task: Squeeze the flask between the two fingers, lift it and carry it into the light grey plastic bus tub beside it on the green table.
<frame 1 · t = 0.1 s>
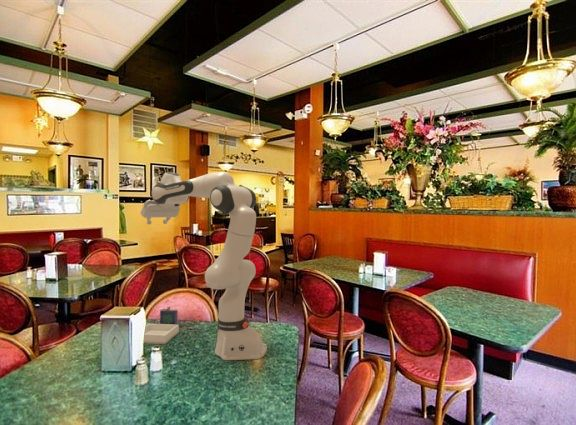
hand: (156, 223, 169), 54 cm above the table, tool tilted 30°, fingers open, 8 cm apart
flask: (168, 327, 166), on the table
tub: (156, 337, 152), on the table
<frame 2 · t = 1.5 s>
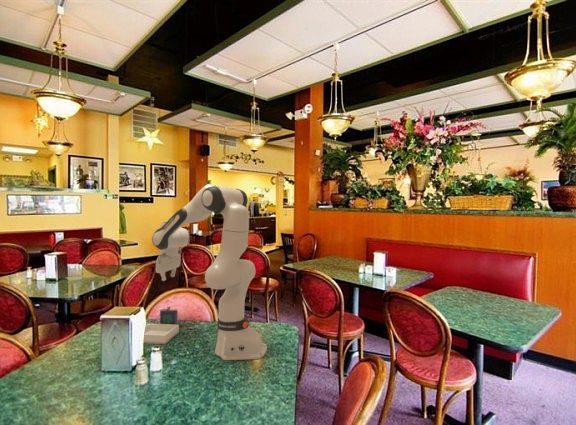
hand: (168, 278, 166), 25 cm above the table, tool pointing down, fingers open, 8 cm apart
nothing on the table moved.
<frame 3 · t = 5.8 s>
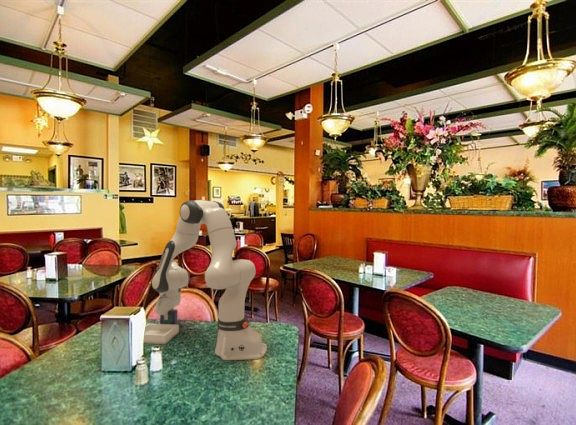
hand: (168, 318, 166), 5 cm above the table, tool pointing down, fingers closed on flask, 3 cm apart
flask: (168, 327, 166), on the table, touching gripper
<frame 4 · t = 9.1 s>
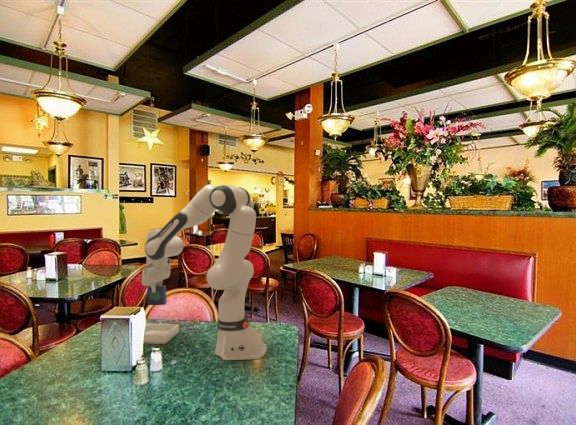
hand: (156, 290, 152), 22 cm above the table, tool pointing down, fingers closed on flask, 3 cm apart
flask: (156, 304, 152), point 16 cm above the table, touching gripper
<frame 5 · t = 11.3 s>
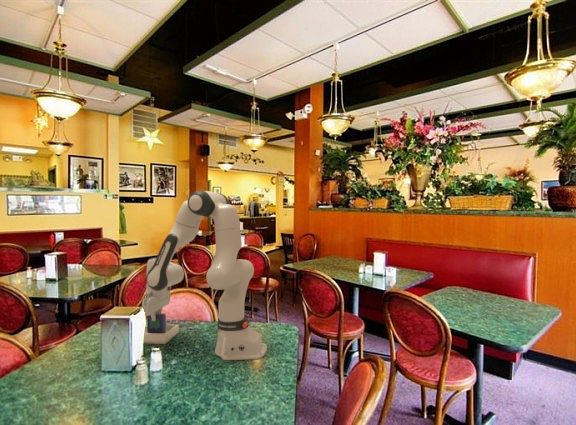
hand: (156, 319, 152), 9 cm above the table, tool pointing down, fingers closed on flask, 3 cm apart
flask: (156, 332, 152), point 2 cm above the table, touching gripper
when the fingers open (7 cm above the table, at t = 12.5 s): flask stays where it is, resting on tub.
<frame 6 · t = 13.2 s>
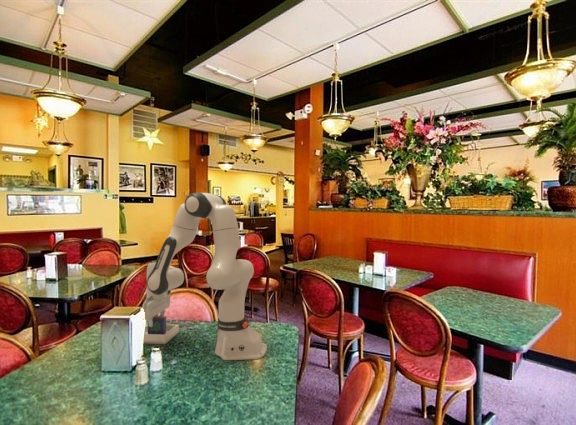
hand: (156, 322, 152), 7 cm above the table, tool pointing down, fingers open, 8 cm apart
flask: (156, 335, 152), point 1 cm above the table, touching tub
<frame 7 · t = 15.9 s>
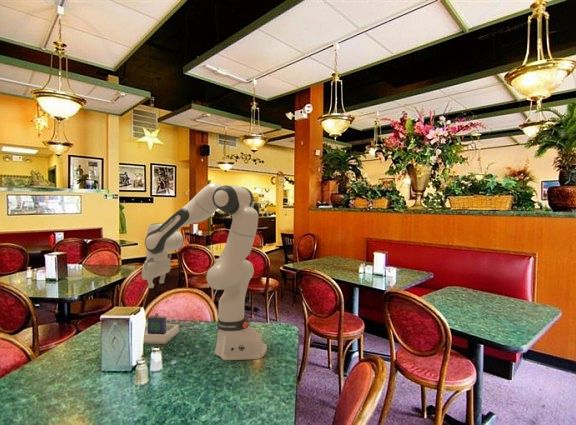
hand: (156, 285, 152), 25 cm above the table, tool pointing down, fingers open, 8 cm apart
nothing on the table moved.
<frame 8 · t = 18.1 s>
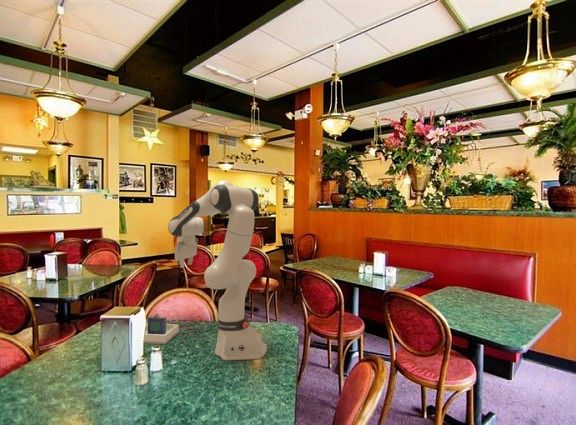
hand: (186, 266, 171), 31 cm above the table, tool pointing down, fingers open, 8 cm apart
nothing on the table moved.
at the end: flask inside the target area on the tub (0.1 cm from its centre), point 0.8 cm above the tub's base; the gripper is holding nothing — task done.
